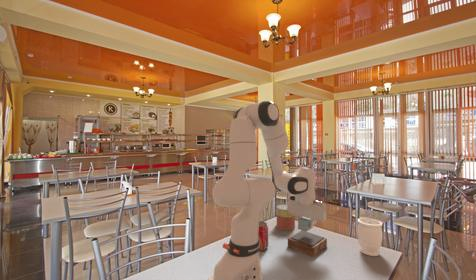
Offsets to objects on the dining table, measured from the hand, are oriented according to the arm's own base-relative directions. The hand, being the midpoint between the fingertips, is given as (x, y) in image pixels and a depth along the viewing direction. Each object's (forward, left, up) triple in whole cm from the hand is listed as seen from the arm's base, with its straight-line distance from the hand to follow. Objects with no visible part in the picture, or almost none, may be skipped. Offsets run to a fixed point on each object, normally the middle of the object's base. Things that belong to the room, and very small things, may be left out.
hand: (305, 225), depth 115 cm
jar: (+16, -25, -11) cm, 31 cm away
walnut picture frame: (0, -1, -10) cm, 10 cm away
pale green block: (0, 0, -2) cm, 2 cm away
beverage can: (-18, +15, -11) cm, 26 cm away
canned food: (+14, +21, -11) cm, 27 cm away
